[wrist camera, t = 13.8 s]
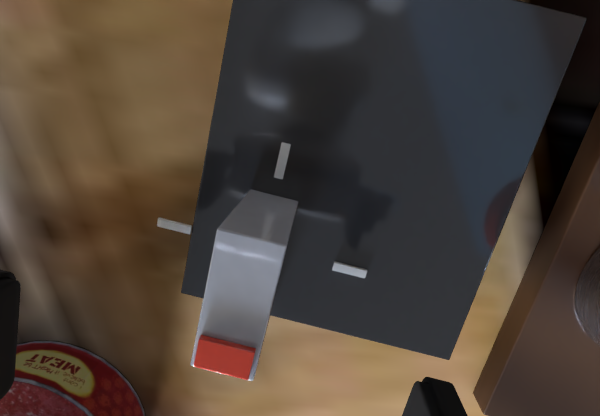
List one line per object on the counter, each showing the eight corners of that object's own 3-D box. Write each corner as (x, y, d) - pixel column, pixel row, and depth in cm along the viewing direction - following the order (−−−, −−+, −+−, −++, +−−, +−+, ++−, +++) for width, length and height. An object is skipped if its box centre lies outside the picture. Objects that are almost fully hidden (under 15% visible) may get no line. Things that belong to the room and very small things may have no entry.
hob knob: (249, 188, 16) (214, 230, 11) (298, 201, 16) (286, 248, 11) (228, 290, 17) (187, 371, 12) (273, 302, 17) (251, 387, 12)
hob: (223, -53, 16) (203, -82, 13) (548, 29, 16) (591, 16, 13) (166, 287, 20) (143, 315, 18) (425, 352, 20) (439, 389, 18)
